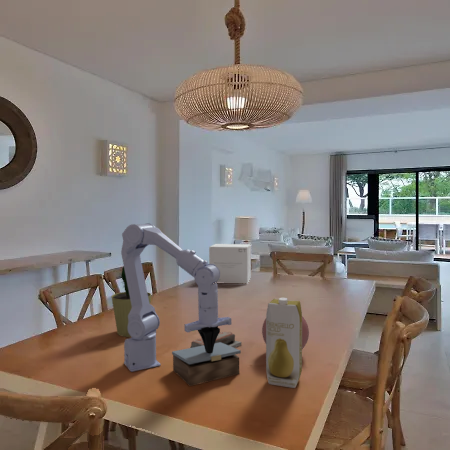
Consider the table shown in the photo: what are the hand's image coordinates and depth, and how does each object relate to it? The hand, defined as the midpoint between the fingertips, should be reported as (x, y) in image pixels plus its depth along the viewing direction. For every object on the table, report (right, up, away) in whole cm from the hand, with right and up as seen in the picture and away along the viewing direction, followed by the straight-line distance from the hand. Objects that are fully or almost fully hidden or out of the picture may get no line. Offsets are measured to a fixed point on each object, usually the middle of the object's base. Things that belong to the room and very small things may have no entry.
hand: (209, 352), depth 116 cm
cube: (+9, -1, +151) cm, 151 cm away
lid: (-1, -1, +1) cm, 2 cm away
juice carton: (+21, -7, -5) cm, 23 cm away
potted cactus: (-32, -5, +40) cm, 52 cm away
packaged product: (+1, -6, +22) cm, 23 cm away
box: (-1, -7, +2) cm, 7 cm away
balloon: (+24, -6, +14) cm, 29 cm away
